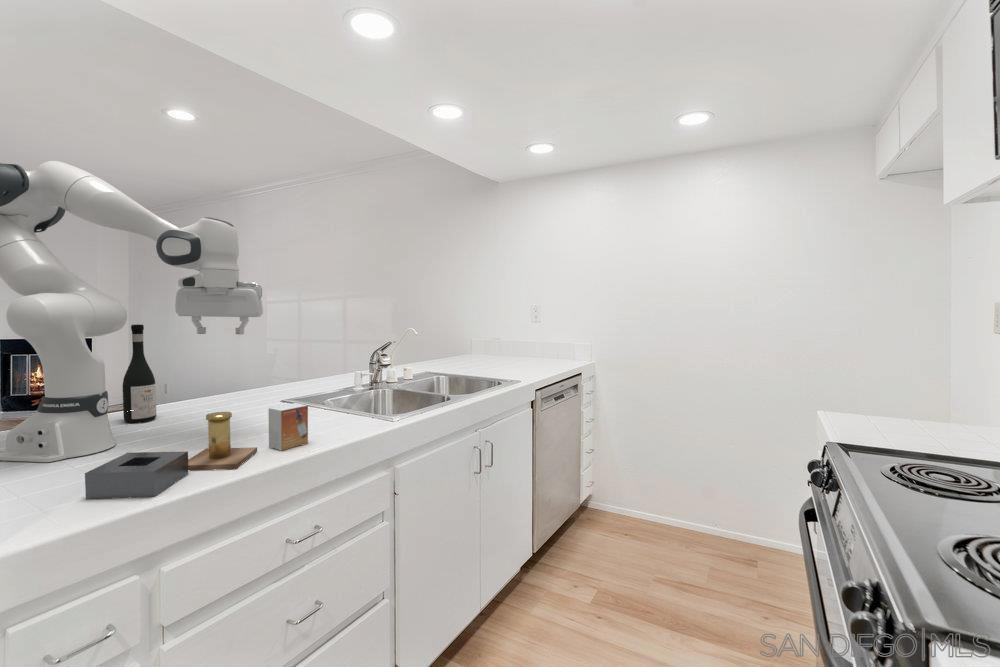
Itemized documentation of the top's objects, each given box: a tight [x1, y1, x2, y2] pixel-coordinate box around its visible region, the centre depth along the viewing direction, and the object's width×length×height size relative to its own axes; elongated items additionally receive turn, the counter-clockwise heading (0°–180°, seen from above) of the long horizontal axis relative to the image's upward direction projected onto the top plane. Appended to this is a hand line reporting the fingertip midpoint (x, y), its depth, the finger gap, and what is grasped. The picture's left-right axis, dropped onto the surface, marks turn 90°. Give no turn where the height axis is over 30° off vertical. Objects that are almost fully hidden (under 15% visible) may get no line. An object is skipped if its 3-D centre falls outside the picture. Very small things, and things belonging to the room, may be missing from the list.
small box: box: [268, 402, 309, 451], centre depth 121 cm, size 8×6×10 cm
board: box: [188, 446, 258, 471], centre depth 108 cm, size 12×12×1 cm
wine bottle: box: [122, 323, 157, 424], centre depth 142 cm, size 8×8×30 cm
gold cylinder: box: [205, 411, 233, 459], centre depth 108 cm, size 5×5×10 cm
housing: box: [84, 450, 190, 500], centre depth 93 cm, size 12×12×5 cm
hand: (220, 334), depth 121 cm, fingers open, 8 cm apart
